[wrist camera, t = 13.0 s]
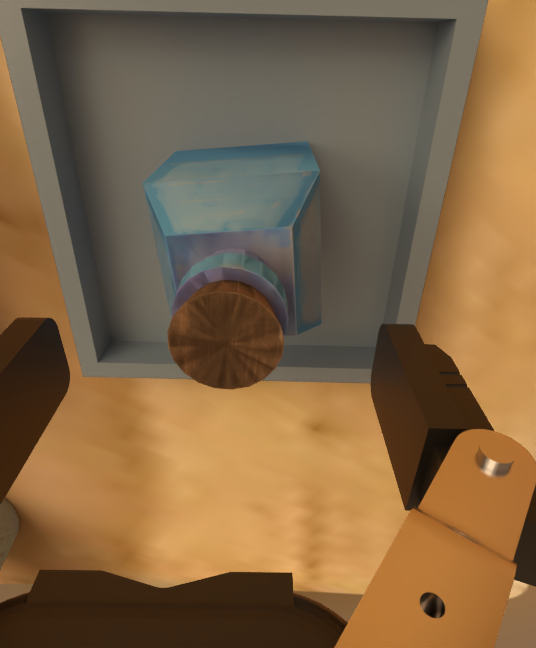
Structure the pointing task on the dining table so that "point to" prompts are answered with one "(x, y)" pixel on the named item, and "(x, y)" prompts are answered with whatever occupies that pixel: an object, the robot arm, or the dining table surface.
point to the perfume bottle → (237, 256)
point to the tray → (240, 130)
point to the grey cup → (7, 528)
